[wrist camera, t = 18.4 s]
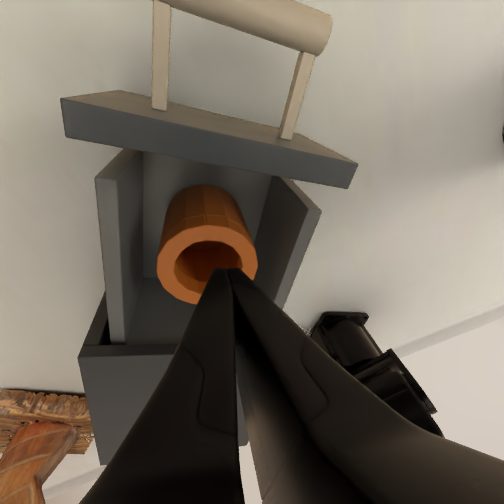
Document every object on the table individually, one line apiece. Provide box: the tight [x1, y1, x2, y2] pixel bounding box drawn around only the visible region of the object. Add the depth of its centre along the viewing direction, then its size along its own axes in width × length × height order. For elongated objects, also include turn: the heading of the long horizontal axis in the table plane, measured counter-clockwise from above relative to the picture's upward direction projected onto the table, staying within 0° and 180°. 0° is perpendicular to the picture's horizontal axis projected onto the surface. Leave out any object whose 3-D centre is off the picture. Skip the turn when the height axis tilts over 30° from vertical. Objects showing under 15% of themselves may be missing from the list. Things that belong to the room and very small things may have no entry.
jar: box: [156, 184, 258, 304], centre depth 16 cm, size 5×5×6 cm
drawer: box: [60, 0, 358, 345], centre depth 15 cm, size 18×11×8 cm, turn 167°
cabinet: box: [78, 290, 249, 465], centre depth 23 cm, size 15×13×10 cm
